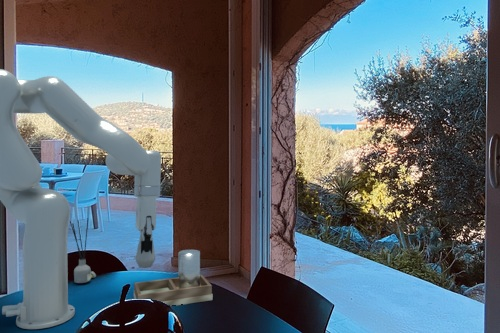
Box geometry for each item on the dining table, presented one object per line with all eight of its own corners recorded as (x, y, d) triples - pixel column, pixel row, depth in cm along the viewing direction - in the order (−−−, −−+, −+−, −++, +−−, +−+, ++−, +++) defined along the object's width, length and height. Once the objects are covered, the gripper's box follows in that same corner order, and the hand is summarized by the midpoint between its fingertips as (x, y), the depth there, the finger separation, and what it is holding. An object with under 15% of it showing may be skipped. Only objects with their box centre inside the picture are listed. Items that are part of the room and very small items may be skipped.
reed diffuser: (81, 288, 111) (80, 221, 111) (60, 287, 112) (59, 221, 112) (99, 277, 121) (99, 216, 121) (80, 276, 122) (79, 215, 122)
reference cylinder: (181, 295, 102) (180, 256, 102) (176, 288, 107) (176, 250, 107) (202, 292, 104) (202, 253, 104) (196, 285, 110) (196, 248, 109)
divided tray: (137, 311, 95) (137, 295, 95) (133, 296, 105) (133, 282, 105) (212, 299, 103) (212, 285, 103) (202, 287, 113) (202, 274, 113)
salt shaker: (149, 269, 109) (150, 225, 109) (131, 267, 110) (132, 223, 110) (158, 264, 114) (159, 222, 114) (141, 262, 116) (142, 221, 116)
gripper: (131, 189, 118) (130, 247, 118) (137, 193, 103) (135, 260, 103) (155, 189, 121) (154, 246, 121) (164, 193, 106) (162, 258, 106)
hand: (145, 252), depth 112 cm, fingers closed on salt shaker, 3 cm apart
